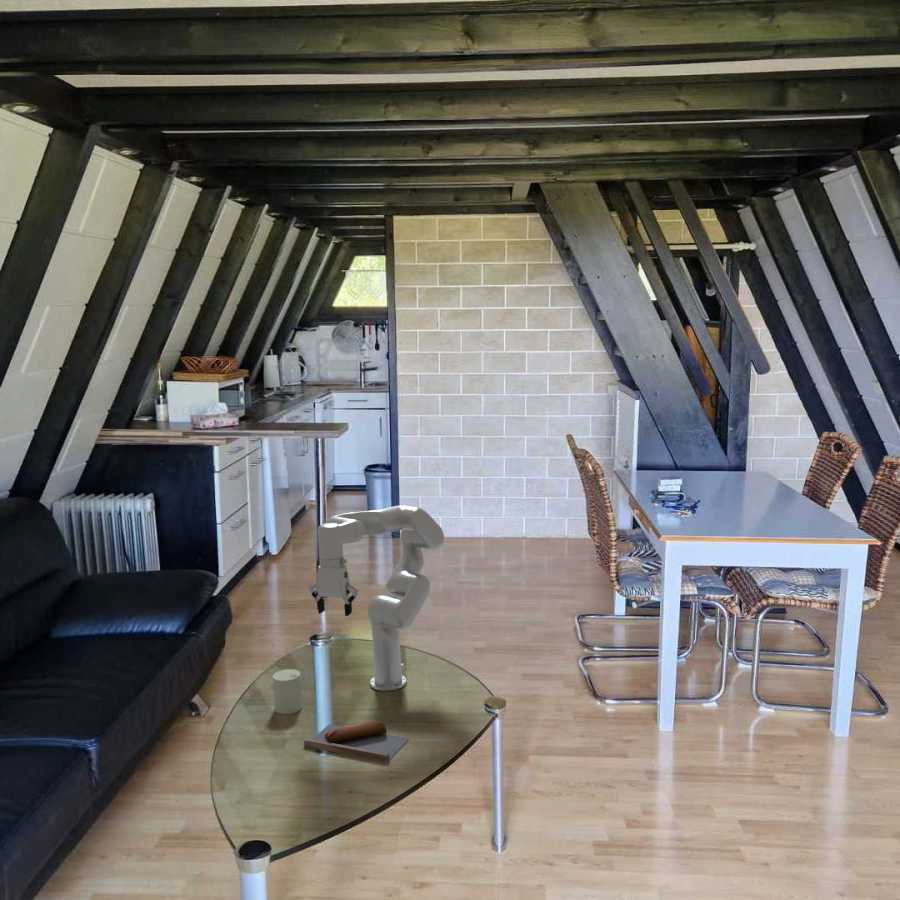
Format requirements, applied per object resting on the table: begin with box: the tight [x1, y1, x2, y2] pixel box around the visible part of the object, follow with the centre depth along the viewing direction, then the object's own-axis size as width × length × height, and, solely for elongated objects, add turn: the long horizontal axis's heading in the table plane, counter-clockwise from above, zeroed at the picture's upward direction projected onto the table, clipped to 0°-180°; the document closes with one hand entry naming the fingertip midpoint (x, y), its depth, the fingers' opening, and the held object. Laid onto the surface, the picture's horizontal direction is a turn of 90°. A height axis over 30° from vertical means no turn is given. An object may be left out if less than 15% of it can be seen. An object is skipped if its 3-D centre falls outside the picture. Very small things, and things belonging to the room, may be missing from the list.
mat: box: [312, 723, 410, 760], centre depth 248 cm, size 13×28×1 cm, turn 67°
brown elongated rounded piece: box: [325, 720, 388, 744], centre depth 251 cm, size 18×7×7 cm, turn 111°
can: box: [272, 668, 304, 715], centre depth 272 cm, size 9×9×12 cm
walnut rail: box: [303, 737, 391, 763], centre depth 242 cm, size 1×28×2 cm, turn 67°
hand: (334, 613), depth 266 cm, fingers open, 9 cm apart
